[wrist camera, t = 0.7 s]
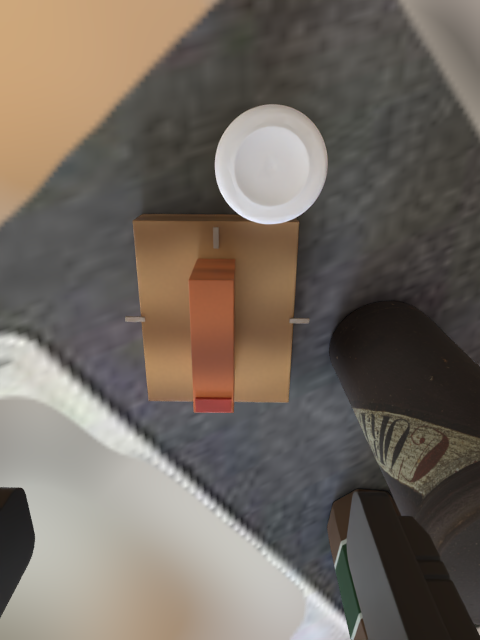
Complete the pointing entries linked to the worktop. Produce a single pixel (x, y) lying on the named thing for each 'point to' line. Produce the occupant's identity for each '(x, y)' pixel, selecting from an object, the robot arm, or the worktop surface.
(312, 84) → the worktop surface
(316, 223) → the worktop surface
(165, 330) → the holder base
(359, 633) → the beer bottle
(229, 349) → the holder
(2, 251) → the worktop surface
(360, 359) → the container
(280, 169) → the sprinkles bottle
